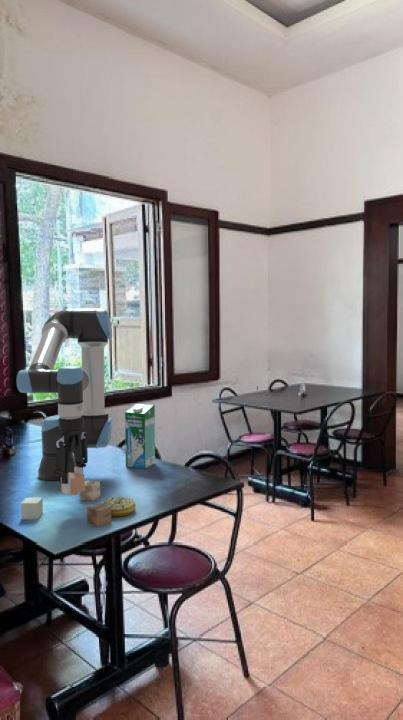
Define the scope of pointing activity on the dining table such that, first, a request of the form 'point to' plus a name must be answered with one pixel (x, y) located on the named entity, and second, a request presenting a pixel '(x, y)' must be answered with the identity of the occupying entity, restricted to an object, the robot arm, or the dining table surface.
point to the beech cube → (90, 490)
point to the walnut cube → (98, 514)
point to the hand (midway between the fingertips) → (73, 490)
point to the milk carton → (140, 436)
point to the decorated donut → (120, 505)
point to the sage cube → (31, 508)
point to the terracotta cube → (75, 483)
